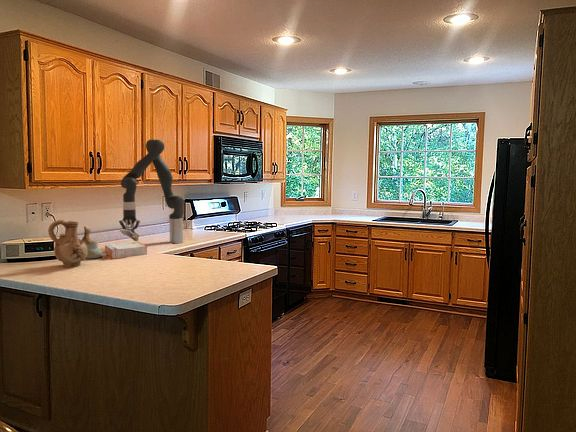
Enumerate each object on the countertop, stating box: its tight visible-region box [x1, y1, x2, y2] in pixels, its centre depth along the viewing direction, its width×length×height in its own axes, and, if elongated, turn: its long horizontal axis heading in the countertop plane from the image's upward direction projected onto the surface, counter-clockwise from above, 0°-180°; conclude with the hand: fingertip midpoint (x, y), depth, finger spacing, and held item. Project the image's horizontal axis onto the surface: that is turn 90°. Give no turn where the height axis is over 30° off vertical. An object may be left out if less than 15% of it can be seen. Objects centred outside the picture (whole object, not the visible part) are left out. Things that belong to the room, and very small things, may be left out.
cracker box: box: [104, 241, 148, 260], centre depth 283 cm, size 14×6×21 cm
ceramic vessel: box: [47, 219, 95, 268], centre depth 251 cm, size 18×19×25 cm
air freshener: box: [85, 240, 104, 260], centre depth 273 cm, size 11×8×10 cm
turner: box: [119, 228, 140, 242], centre depth 304 cm, size 22×6×4 cm, turn 178°
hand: (130, 235), depth 302 cm, fingers closed on turner, 2 cm apart
